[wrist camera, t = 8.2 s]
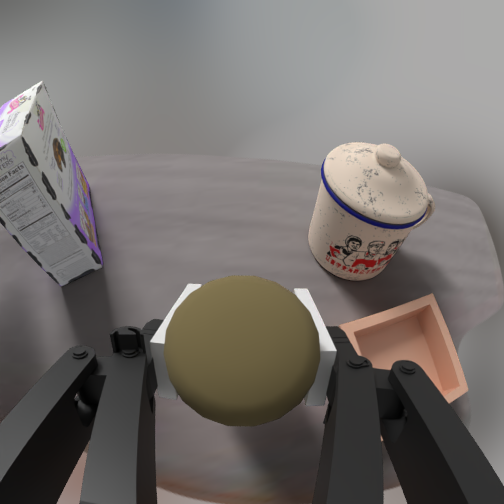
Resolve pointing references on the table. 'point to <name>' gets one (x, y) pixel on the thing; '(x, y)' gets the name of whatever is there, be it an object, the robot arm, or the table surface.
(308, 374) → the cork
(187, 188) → the table surface
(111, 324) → the table surface
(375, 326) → the tray
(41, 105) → the candy box
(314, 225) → the teacup with lid
